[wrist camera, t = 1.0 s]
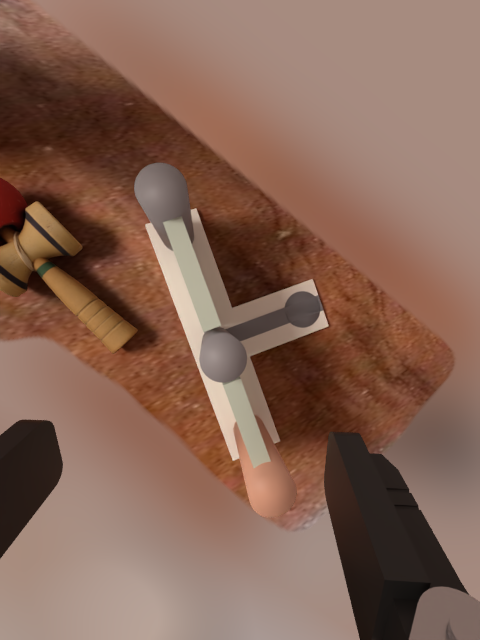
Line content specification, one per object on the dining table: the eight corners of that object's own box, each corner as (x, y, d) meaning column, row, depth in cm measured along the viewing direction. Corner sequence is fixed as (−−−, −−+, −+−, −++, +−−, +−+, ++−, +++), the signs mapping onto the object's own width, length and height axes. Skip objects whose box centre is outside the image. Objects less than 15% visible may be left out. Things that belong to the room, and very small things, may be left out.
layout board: (145, 225, 28) (144, 224, 28) (278, 183, 29) (279, 181, 29) (232, 458, 29) (233, 461, 29) (355, 407, 31) (357, 409, 30)
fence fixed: (157, 226, 28) (124, 168, 17) (187, 216, 28) (176, 152, 17) (206, 360, 29) (207, 390, 17) (236, 349, 29) (255, 371, 18)
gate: (208, 365, 28) (209, 394, 18) (238, 353, 28) (256, 376, 18) (239, 449, 29) (258, 525, 18) (268, 437, 29) (303, 506, 19)
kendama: (164, 304, 30) (10, 155, 26) (151, 319, 24) (-54, 127, 20) (111, 355, 31) (-46, 219, 27) (86, 382, 25) (-124, 211, 20)
